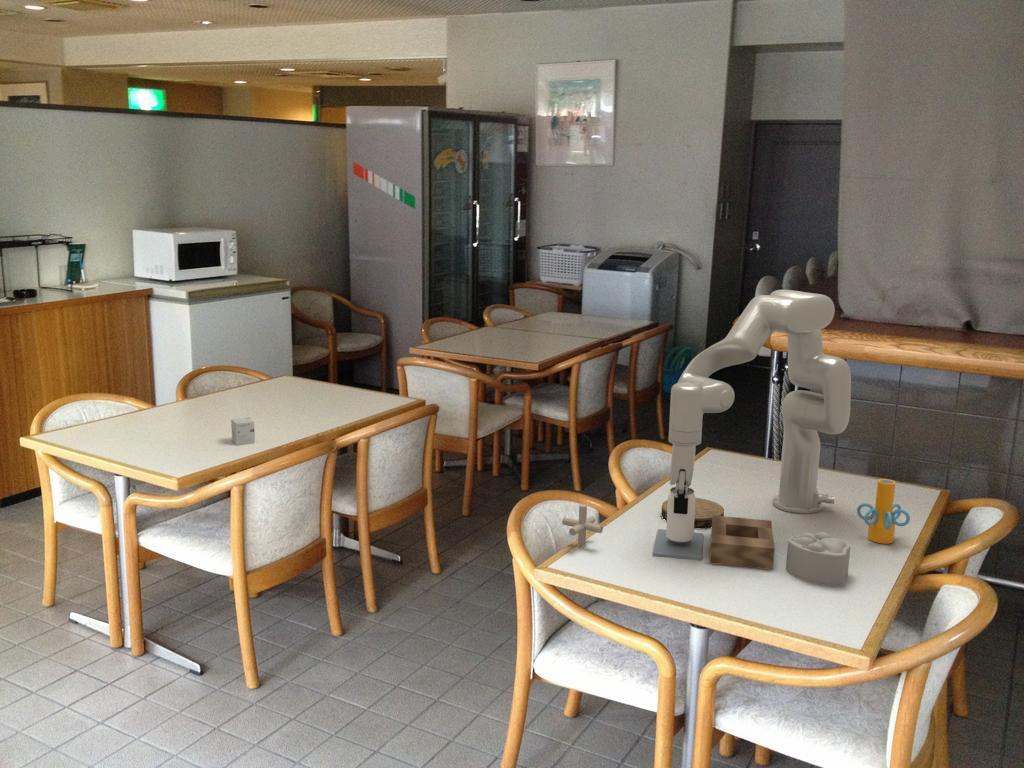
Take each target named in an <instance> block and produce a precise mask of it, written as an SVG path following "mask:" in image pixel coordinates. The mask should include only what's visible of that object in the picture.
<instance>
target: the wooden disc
mask: <svg viewBox="0 0 1024 768" xmlns="http://www.w3.org/2000/svg"><path fill="white" fill-rule="evenodd" d="M695 498H696V499H695V519H694V528H701V529H702V528H705V529H712V528H711V527H712V515H714V516H725V509H724V507H723V506H722V504H719V503H717V502H716V501H713V500H710V499H704V498H700V497H695ZM667 506H668V499H666V500H665V501H663V502H662V504H661V513H660V514H661V515H662V516H661V515H660V516H661V518H662V517H663V518H662V520H664V519H665V520H666V521H665V520H664V521H665V522H667ZM702 530H703V529H702Z"/></svg>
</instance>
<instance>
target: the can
mask: <svg viewBox="0 0 1024 768" xmlns="http://www.w3.org/2000/svg"><path fill="white" fill-rule="evenodd" d="M678 489H679V487H678ZM684 489H685V488H684ZM669 491H670V492H669V493H668V495H667V500H668V506H667V521H666V528H665V530H666V536H667V538H668V539H669V540H671V541H674V542H679V543H685V542H689V541H691V540H692V539H693V536H694V532H695V529H694V519H695V499H696V498H697V497H696V495H695V490H694V489H693V488H691V487H688V493H687V497H688V512H687V514H676V513H674V496H675V493H676V486H673V487H671V488H670V489H669Z"/></svg>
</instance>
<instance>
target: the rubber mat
mask: <svg viewBox="0 0 1024 768" xmlns="http://www.w3.org/2000/svg"><path fill="white" fill-rule="evenodd" d="M703 537H704V536H703V533H702V532H695V531H694V536H693V539H692V540H691V541H689V542H685V543H679V542H674V541H671V540H669V539H668V538H667V536H666V529H663V528H658V529H657V532H656V537H655V542H654V547H653V552H652V557H664V558H675V559H683V560H692V561H693V560H694V561H701V560H702V548H703V539H704V538H703Z"/></svg>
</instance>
